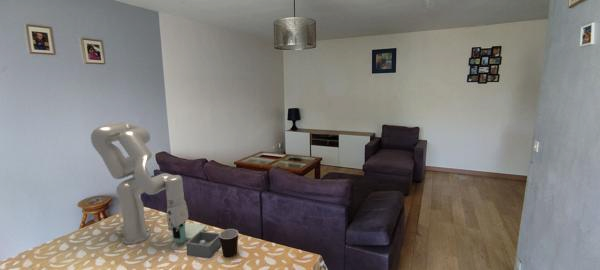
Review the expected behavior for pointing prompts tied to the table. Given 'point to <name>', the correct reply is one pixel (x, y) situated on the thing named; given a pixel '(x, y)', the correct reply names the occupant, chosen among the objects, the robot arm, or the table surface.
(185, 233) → the board with teal handle
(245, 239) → the table surface
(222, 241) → the coffee mug
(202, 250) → the tub
